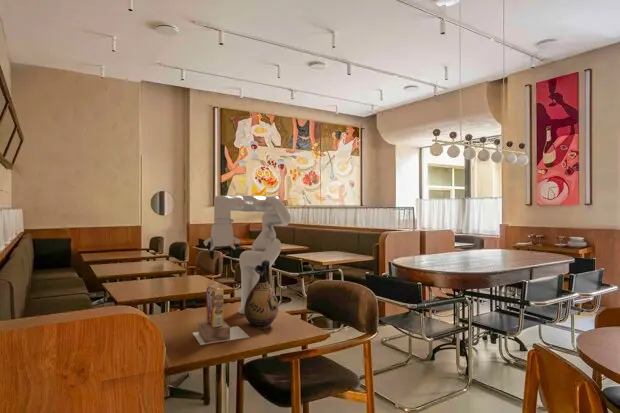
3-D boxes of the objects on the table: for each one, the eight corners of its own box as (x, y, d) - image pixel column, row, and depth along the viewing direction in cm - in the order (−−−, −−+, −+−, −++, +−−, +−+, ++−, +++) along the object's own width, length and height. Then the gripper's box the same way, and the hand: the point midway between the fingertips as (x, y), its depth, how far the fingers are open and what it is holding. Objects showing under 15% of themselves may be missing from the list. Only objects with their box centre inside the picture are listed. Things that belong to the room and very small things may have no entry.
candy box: (224, 326, 162) (224, 288, 162) (213, 328, 160) (213, 290, 160) (215, 320, 170) (215, 285, 169) (205, 322, 167) (206, 286, 167)
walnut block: (222, 330, 172) (222, 319, 172) (230, 339, 161) (230, 326, 161) (198, 334, 167) (198, 322, 167) (205, 343, 157) (205, 330, 157)
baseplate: (238, 328, 178) (238, 326, 178) (249, 339, 164) (249, 336, 164) (192, 335, 169) (192, 332, 169) (200, 347, 155) (200, 344, 155)
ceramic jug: (272, 332, 173) (272, 263, 172) (239, 330, 176) (239, 262, 175) (283, 321, 189) (283, 258, 189) (252, 319, 192) (252, 257, 192)
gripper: (237, 221, 194) (237, 256, 194) (201, 222, 186) (202, 258, 186) (242, 221, 187) (242, 258, 188) (205, 222, 179) (205, 260, 180)
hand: (222, 258), depth 187 cm, fingers open, 9 cm apart
